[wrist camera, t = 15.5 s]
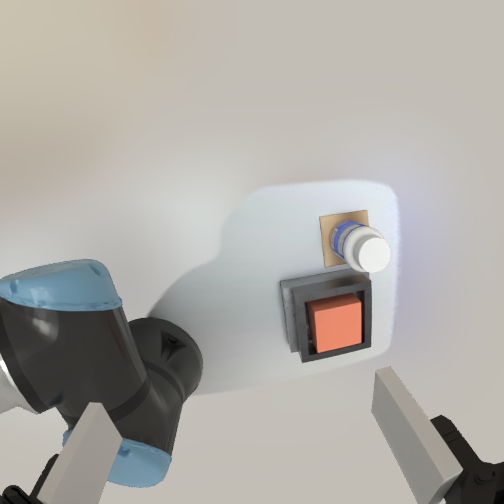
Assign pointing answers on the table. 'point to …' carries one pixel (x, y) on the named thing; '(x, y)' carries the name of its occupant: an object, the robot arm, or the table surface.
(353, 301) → the orange block
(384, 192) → the table surface
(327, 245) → the coaster
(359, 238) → the pill bottle
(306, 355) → the grey square tray
